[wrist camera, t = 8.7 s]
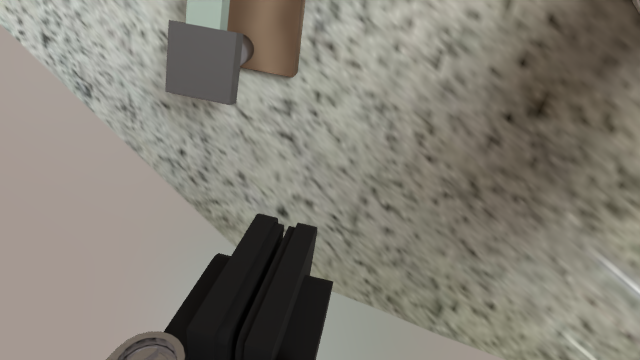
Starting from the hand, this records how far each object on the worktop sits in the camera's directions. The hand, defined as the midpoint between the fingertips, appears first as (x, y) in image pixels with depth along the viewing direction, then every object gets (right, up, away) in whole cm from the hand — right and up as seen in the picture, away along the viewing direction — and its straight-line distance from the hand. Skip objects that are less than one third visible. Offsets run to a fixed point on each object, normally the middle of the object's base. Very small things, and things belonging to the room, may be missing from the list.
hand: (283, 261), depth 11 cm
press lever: (-8, +19, +22) cm, 30 cm away
